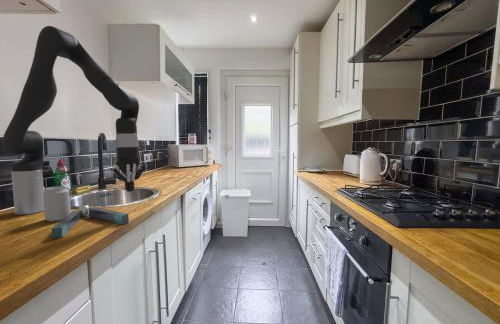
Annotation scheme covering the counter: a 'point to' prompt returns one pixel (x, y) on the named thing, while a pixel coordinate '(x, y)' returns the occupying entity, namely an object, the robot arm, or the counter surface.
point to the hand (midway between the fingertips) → (129, 191)
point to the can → (56, 203)
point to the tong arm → (109, 215)
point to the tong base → (69, 222)
